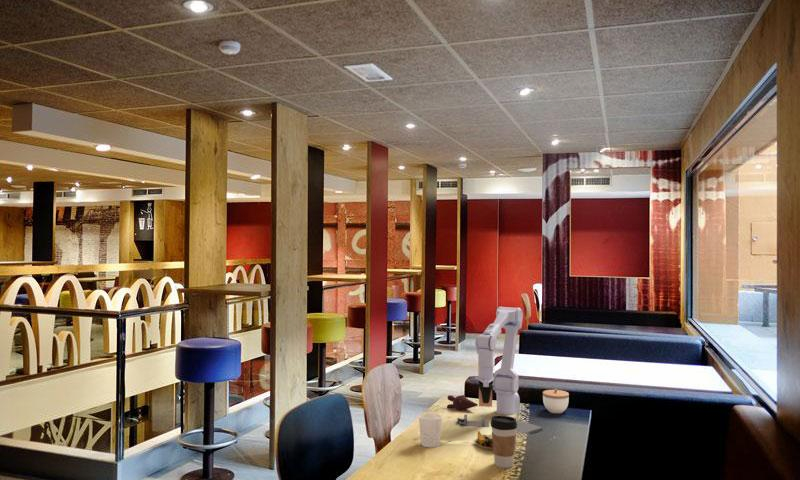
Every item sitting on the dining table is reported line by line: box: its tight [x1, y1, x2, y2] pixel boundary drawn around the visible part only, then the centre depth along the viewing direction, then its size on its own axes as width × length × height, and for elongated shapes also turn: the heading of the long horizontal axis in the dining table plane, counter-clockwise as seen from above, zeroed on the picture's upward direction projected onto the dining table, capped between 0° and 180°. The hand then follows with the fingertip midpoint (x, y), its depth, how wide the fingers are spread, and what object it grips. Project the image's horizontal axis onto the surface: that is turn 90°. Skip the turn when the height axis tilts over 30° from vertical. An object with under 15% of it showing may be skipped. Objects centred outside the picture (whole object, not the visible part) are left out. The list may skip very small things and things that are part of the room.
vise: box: [456, 414, 490, 428], centre depth 233 cm, size 12×7×4 cm, turn 83°
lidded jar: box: [542, 388, 570, 414], centre depth 253 cm, size 11×11×9 cm
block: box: [478, 387, 493, 408], centre depth 232 cm, size 5×4×6 cm
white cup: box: [418, 412, 442, 449], centre depth 212 cm, size 8×8×10 cm
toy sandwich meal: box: [474, 430, 493, 451], centre depth 212 cm, size 12×14×5 cm
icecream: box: [446, 394, 479, 411], centre depth 253 cm, size 7×7×15 cm
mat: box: [516, 420, 543, 435], centre depth 229 cm, size 11×11×1 cm
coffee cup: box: [490, 415, 517, 469], centre depth 193 cm, size 8×8×15 cm
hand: (485, 401), depth 232 cm, fingers closed on block, 4 cm apart
